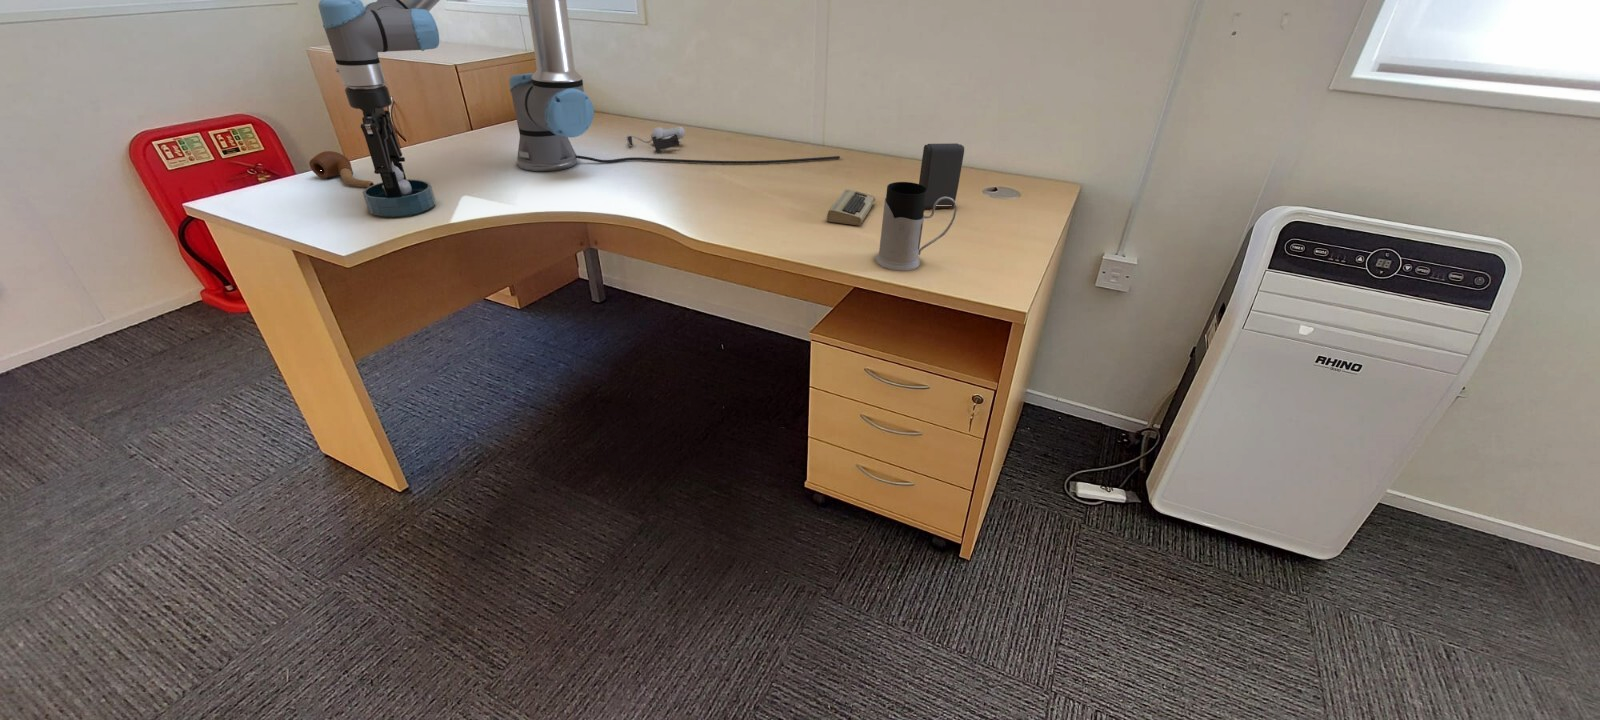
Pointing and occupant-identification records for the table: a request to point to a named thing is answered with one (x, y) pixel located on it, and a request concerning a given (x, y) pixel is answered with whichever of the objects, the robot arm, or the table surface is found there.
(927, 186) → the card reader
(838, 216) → the computer
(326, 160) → the pipe
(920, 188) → the glass holder
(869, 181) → the table surface
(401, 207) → the bowl
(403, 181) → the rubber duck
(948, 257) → the table surface
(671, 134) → the clip-on lamp
